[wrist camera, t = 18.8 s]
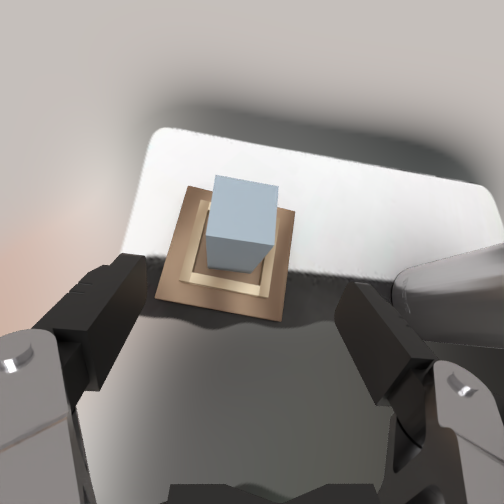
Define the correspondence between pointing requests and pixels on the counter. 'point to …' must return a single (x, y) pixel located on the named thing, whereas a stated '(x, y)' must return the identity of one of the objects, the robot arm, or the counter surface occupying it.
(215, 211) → the post block
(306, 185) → the counter surface
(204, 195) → the base board
